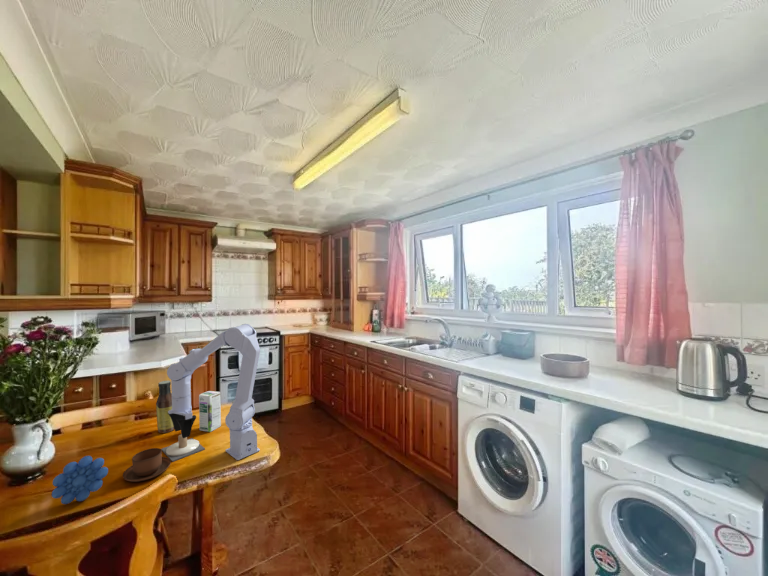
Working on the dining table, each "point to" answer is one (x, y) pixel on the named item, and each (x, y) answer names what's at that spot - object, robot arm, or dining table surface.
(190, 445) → the lid
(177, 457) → the plate
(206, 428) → the syrup box
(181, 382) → the robot arm
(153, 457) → the cup and saucer
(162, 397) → the sauce bottle
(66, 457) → the dining table surface
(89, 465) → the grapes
